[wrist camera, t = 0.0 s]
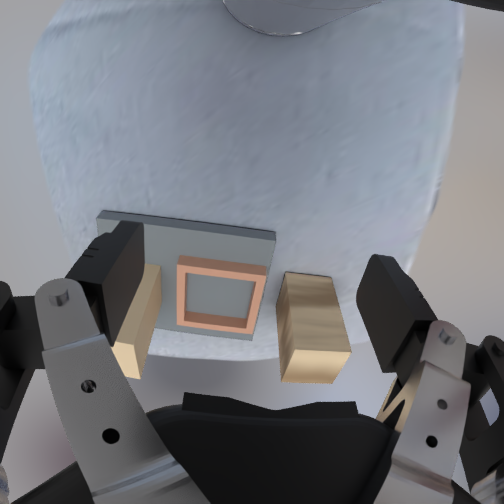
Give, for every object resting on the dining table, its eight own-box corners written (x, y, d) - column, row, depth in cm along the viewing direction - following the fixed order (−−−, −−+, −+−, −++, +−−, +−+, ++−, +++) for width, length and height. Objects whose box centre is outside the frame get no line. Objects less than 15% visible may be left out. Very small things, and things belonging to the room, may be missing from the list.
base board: (102, 210, 29) (46, 287, 19) (275, 232, 30) (284, 323, 21) (115, 311, 36) (86, 388, 27) (252, 331, 38) (251, 415, 28)
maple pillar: (285, 272, 33) (294, 349, 24) (331, 277, 33) (351, 352, 25) (275, 306, 36) (281, 381, 27) (318, 310, 36) (332, 383, 28)
